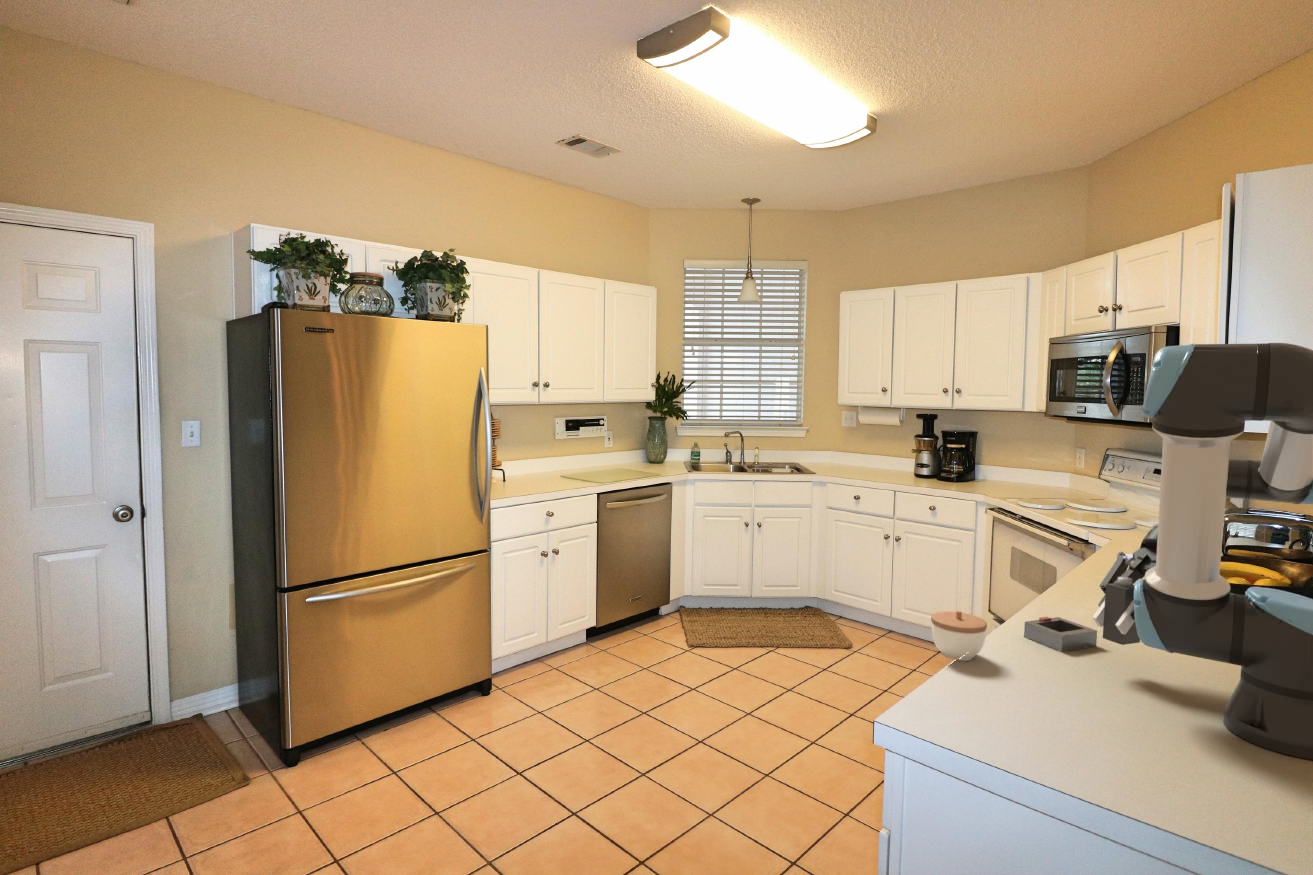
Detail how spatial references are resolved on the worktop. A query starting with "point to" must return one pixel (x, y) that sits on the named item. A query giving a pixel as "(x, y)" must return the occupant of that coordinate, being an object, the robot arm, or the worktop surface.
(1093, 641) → the socket
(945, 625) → the lidded jar
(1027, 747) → the worktop surface
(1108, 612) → the plug
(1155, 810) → the worktop surface
